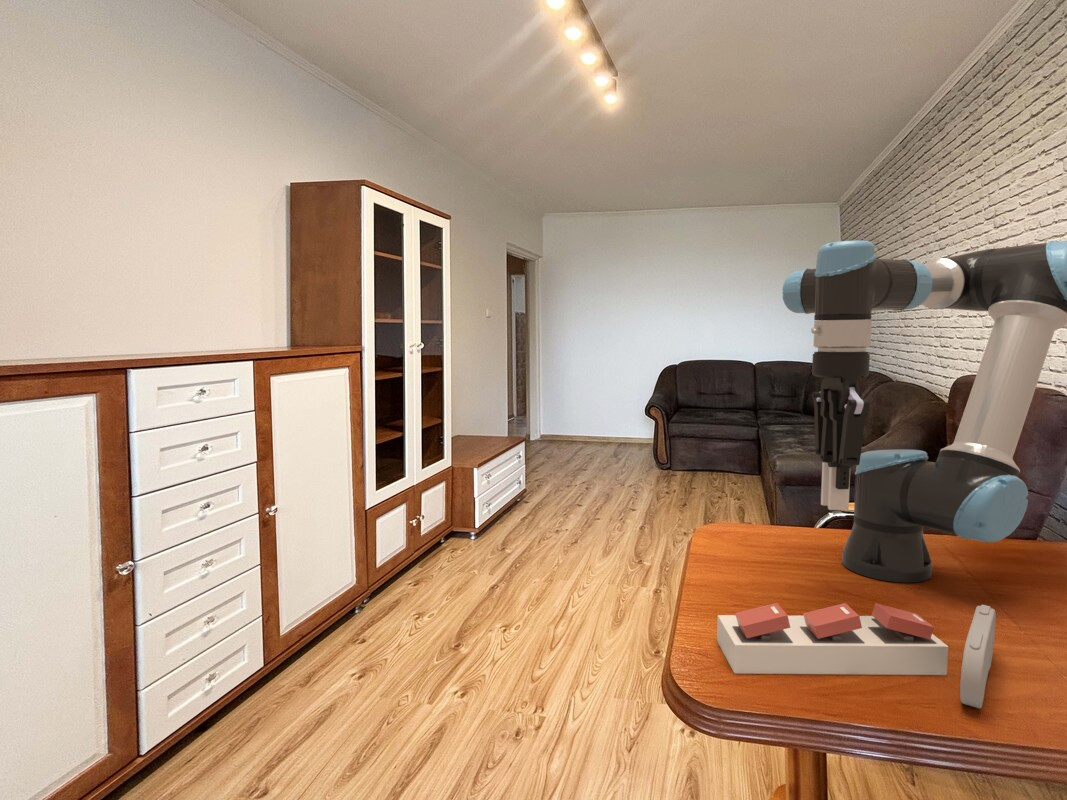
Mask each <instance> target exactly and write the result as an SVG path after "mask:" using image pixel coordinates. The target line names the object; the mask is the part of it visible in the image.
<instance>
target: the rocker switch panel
mask: <svg viewBox="0 0 1067 800" xmlns="http://www.w3.org/2000/svg"><path fill="white" fill-rule="evenodd" d="M859 617H860V621H861V626H862V628H860V629H856V630H852V631H848V632H844V633H840V634H836V635H832V636H828V637H823V638H819V639H818V638H817V637H816V636H815V635H814V634H813V633H812V631H811V630H810V629H809V628H808V627H807V626H806V623H805V619H804V615H788V619H789V624H790V628H787V629H783V630H779V631H775V632H771V633H767V634H763V635H759V636H755V637H750V638H746V636H745V635H744V633H743V632H742V630H741V629H740V627H739V625H738V622H737V619H736V615H735V614H734V615H733V614H732V615H731V614H725V615H724V614H723V615H721V614H719V615H717V622H716V623H717V624H716V625H717V629H716V631H717V632H716V641H717V643H718V646H719V647H720V649H721V651H722V654H723V655H724V657H725V658H726V661H727V662H728V664H729V666H730V668H731V669H732V672H733V673H734V674H743V675H744V674H746V675H748V674H749V675H751V674H752V675H754V674H758V675H759V674H760V675H761V674H763V675H768V674H769V675H775V674H776V675H872V676H873V675H875V676H876V675H877V676H880V675H881V676H883V675H885V676H886V675H888V676H889V675H890V676H900V675H901V676H947V675H948V673H947V672H948V658H949V646H948V645H947V644H946V643H944V641H942V640H941V639H939V638H938V637H937V636H936V635H935V634H933V633H932V635H931V638H930V639H926V638H922V637H918V636H915V635H911V634H907V633H903V632H899V631H895V630H892V629H888V628H886V627H885V626H884V625H882V624H881V623H880V622H879V621H878V620H877V619H876V618H874V617H873V616H872V615H859Z"/></svg>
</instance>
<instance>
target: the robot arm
mask: <svg viewBox="0 0 1067 800" xmlns="http://www.w3.org/2000/svg"><path fill="white" fill-rule="evenodd" d="M876 256H877V255H876V254H875V245H874V244H873V242H871V241H868V240H859V239H858V240H841V241H833V242H828V243H826V244H823V245H822V246H820V247H819V249H818V251H817V257H816V264H815V265H816V266H815V268H805V269H801V270H796V271H793V272H792V273H790V274H789V275H788V276H787V277H786V278H785V280H784V283H783V285H782V301H783V303H784V305H785V307H786V308H787V309H788V310H789V311H791V312H792V313H795V314H805V315H809V314H814V317H813V319H814V323H813V327H812V328H811V329H810V333H811V334H813V347H814V348H815V349H816V348H817V351H814V352H813V353H812V363H811V364H812V366H811V367H812V368H811V373H812V375H813V376H815V377H817V378H822V380H821V381H822V382H821V385H820V391H813V392H812V402H813V408H814V410H813V411H814V412H813V413H814V443H815V444H814V445H815V449H814V451H815V455H817V456H819V459H820V461H821V462H822V464H821V465H822V466H821V467H822V468H821V484H820V485H821V487H820V488H821V489H820V505H821V506H823V507H824V506H825V507H826V506H827V509H828V510H829V511H849V510H850V509H849V506H850V488H851V487H850V484H851V468H853V467H854V466H856V468H855V472H854V475H855V478H854V479H855V480H854V507H853V508H854V509H853V510H854V512H853V525H852V528H851V530H850V533H849V535H848V536H847V540H846V542H845V545H844V546H843V548H842V554H841V555H842V556H841V563H842V565H843V566H844V567H845V568H847V570H850V571H852V572H853V573H856V574H858V575H861V576H865V577H867V578H872V579H876V580H879V581H880V580H881V581H886V582H894V583H920V582H925V581H928V580H929V579H931V577H932V575H933V562H932V560H931V559H932V558H931V555H930V553H929V549H928V546H927V543H926V540H925V536H924V527H927V528H930V529H933V530H938V531H940V532H944V533H947V534H951V535H954V536H958V537H959V538H961V539H963V540H974V541H978V542H982V543H983V542H984V543H996V542H999V541H1001V540H1004V539H1005V538H1007V537H1009V536H1010V535H1011V534H1012V533H1013V532H1014V531H1016V529H1017V528H1018V527H1019V525H1020V524H1021V523H1022V520H1023V518H1024V517H1025V513H1026V512H1027V509H1028V503H1029V500H1028V498H1027V497H1028V496H1029V491H1028V487H1027V485H1026V483H1025V482H1024V481H1023V480H1022V479H1021V478H1020V477H1019V475H1020V473H1021V469H1020V468H1019V466H1018V465H1017V464H1016V462H1015V461H1014V459H1013V457H1014V454H1015V452H1016V449H1017V446H1018V442H1019V439H1020V437H1021V434H1022V431H1023V427H1024V426H1025V425H1024V424H1025V421H1026V418H1027V415H1028V413H1029V410H1030V409H1029V408H1030V407H1031V403H1032V401H1033V398H1034V394H1035V391H1036V389H1037V386H1038V382H1039V379H1040V376H1041V373H1042V370H1043V368H1044V364H1045V361H1046V358H1047V355H1048V352H1049V349H1050V346H1051V343H1052V341H1053V337H1054V335H1055V331H1057V330H1059V329H1062V328H1064V327H1066V326H1067V240H1060V241H1057V240H1056V241H1054V240H1049V241H1047V242H1042V243H1034V244H1025V245H1024V244H1023V245H1016V246H1015V245H1014V246H1008V247H1007V246H1006V247H999V248H988V249H987V248H986V249H983V250H982V249H981V250H977V251H971V252H968V253H963V254H959V255H954V256H948V257H938V258H933V259H930V260H928V261H927V262H925V263H921V262H920V261H919V262H918V261H913V260H908V258H903V259H894V258H893V259H891V258H890V259H889V258H886V259H885V258H876ZM919 306H923V307H925V308H928V309H932V310H942V309H946V310H947V309H948V310H959V311H973V312H988V313H987V314H988V315H989V316H990V317H991V319H992V321H994V323H993V326H992V329H991V332H990V333H989V338H988V340H987V343H986V345H985V350H984V353H983V355H982V357H981V361H980V364H979V367H978V370H977V372H976V376H975V378H974V380H973V381H974V382H973V385H972V387H971V391H970V393H969V396H968V399H967V402H966V406H965V408H964V411H963V415H962V417H961V420H960V423H959V426H958V428H957V431H956V434H955V438H954V441H953V442H952V444H949V445H948V446H945V447H943V448H940V450H939V451H938V452H939V453H938V456H937V459H936V461H935V462H933V461H930V460H929V456H928V452H926V451H925V450H920V449H877V450H876V449H875V450H869V451H868V450H867V451H865V452H862V447H863V438H864V433H865V432H864V431H865V424H866V423H865V422H866V415H867V412H868V410H869V407H870V401H869V399H861V397H860V396H859V395H860V388H859V387H860V386H859V379H860V378H866V377H868V376H869V374H870V358H871V355H870V353H869V352H868V351H866V349H867V348H870V347H871V344H872V343H871V342H872V341H871V340H872V312H873V311H895V312H897V311H901V312H902V311H905V310H912V309H915V308H918V307H919ZM928 460H929V461H928Z"/></svg>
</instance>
